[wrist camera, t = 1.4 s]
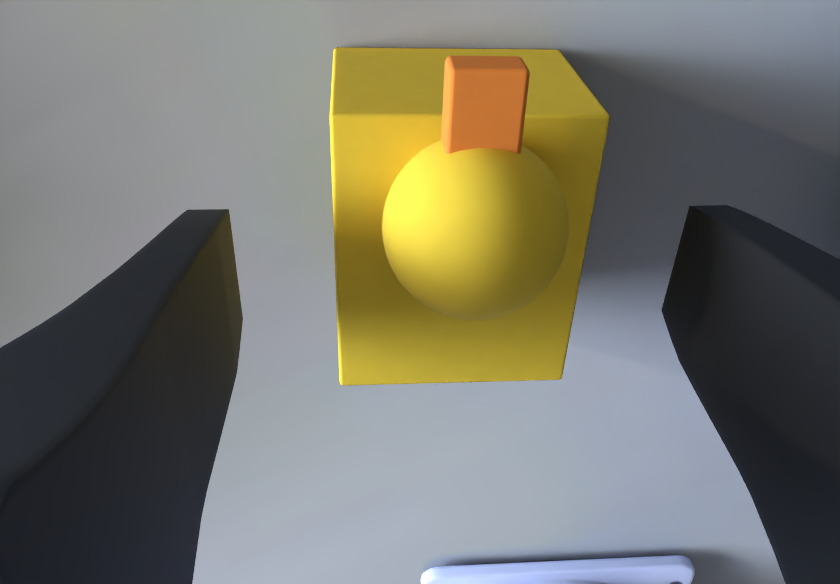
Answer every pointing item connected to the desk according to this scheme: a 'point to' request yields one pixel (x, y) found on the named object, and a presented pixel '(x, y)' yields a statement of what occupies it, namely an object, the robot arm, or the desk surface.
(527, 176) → the rubber duck
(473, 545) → the desk surface
